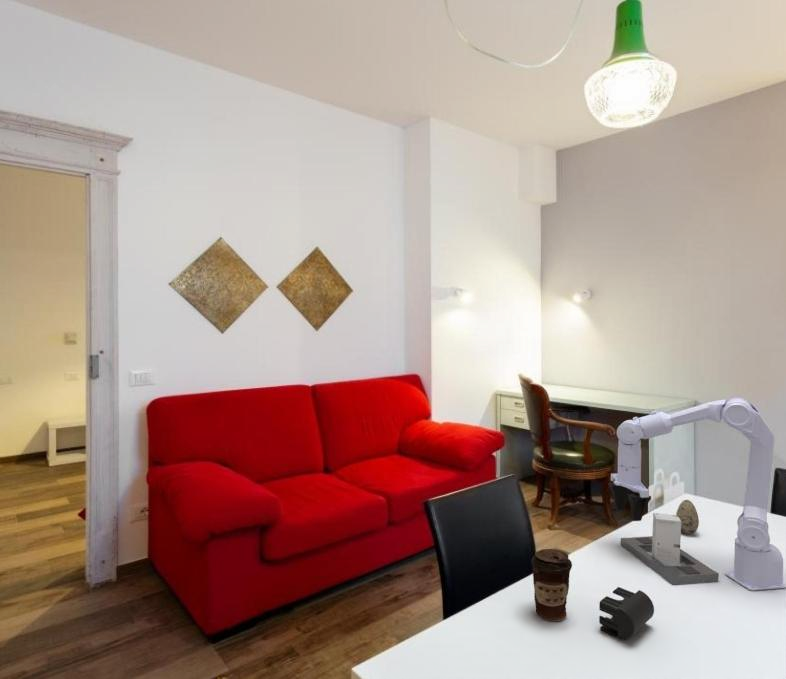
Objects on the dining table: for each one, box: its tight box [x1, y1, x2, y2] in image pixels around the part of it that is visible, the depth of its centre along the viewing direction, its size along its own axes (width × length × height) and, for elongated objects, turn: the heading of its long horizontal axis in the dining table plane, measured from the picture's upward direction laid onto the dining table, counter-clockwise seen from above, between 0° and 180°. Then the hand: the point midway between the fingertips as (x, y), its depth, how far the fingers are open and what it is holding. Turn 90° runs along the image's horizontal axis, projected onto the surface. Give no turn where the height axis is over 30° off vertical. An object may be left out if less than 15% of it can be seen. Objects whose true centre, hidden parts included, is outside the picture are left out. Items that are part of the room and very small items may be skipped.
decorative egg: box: [675, 499, 700, 535], centre depth 153 cm, size 6×6×10 cm
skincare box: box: [651, 512, 682, 566], centre depth 134 cm, size 6×4×12 cm
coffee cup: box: [530, 548, 573, 622], centre depth 110 cm, size 9×8×13 cm
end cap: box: [598, 586, 655, 641], centre depth 105 cm, size 10×7×7 cm
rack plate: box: [620, 535, 720, 586], centre depth 135 cm, size 12×22×2 cm, turn 7°
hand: (628, 515), depth 139 cm, fingers open, 7 cm apart
